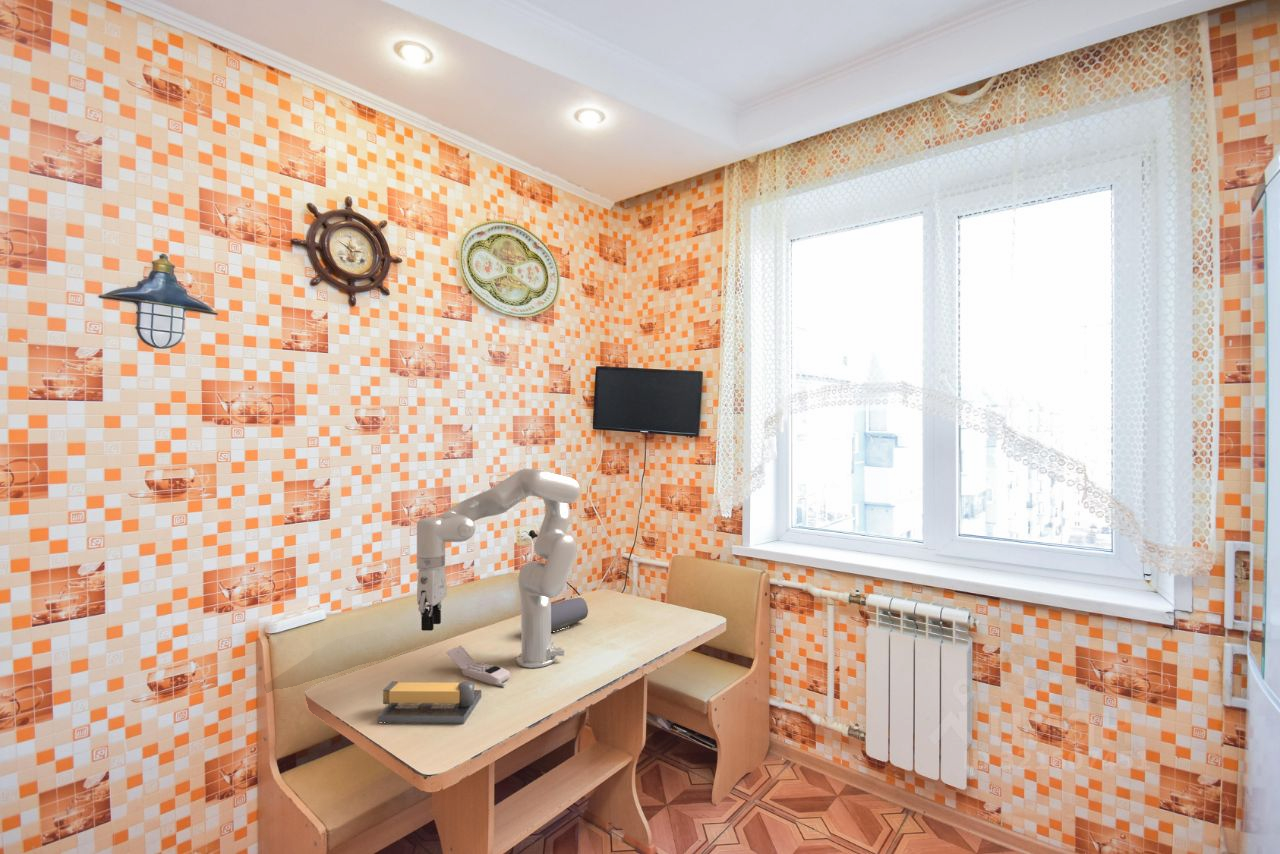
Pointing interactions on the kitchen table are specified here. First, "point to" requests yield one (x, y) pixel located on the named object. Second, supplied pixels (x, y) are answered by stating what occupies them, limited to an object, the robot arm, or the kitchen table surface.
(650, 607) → the kitchen table surface
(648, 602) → the kitchen table surface
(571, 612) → the bluetooth speaker
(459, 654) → the mobile phone
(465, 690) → the bar
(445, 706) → the plate
